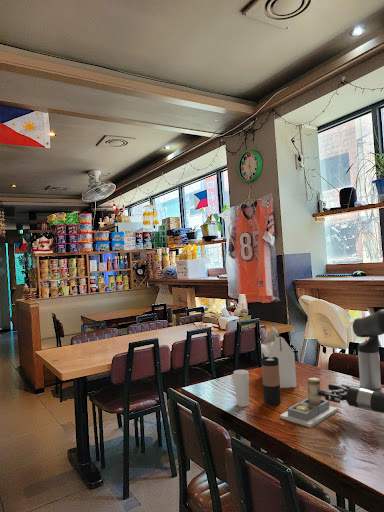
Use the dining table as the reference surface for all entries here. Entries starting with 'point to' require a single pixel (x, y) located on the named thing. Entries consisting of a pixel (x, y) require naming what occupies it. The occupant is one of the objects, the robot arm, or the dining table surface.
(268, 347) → the gable box
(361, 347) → the robot arm
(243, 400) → the white cylinder
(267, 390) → the travel mug
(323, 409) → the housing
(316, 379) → the lidded cup
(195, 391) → the dining table surface
